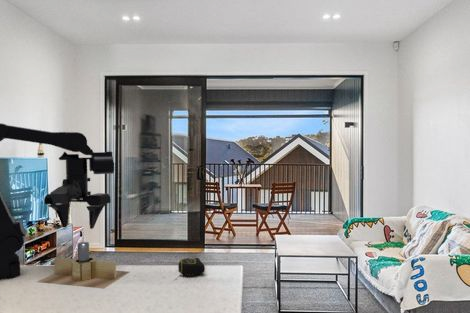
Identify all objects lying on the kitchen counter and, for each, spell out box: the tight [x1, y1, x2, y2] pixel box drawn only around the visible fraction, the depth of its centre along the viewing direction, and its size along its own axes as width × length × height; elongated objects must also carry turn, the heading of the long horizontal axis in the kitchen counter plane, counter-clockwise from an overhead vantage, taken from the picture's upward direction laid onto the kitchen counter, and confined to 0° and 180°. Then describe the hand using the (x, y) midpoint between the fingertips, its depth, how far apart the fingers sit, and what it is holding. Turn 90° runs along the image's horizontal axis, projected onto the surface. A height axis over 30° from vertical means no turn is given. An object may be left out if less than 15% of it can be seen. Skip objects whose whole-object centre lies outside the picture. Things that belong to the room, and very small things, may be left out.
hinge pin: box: [77, 241, 90, 263], centre depth 96 cm, size 3×3×9 cm
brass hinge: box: [53, 255, 117, 281], centre depth 96 cm, size 19×6×4 cm, turn 76°
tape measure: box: [177, 257, 206, 277], centre depth 100 cm, size 7×7×4 cm
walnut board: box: [36, 270, 130, 289], centre depth 96 cm, size 20×12×1 cm, turn 76°
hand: (78, 228), depth 105 cm, fingers open, 9 cm apart
